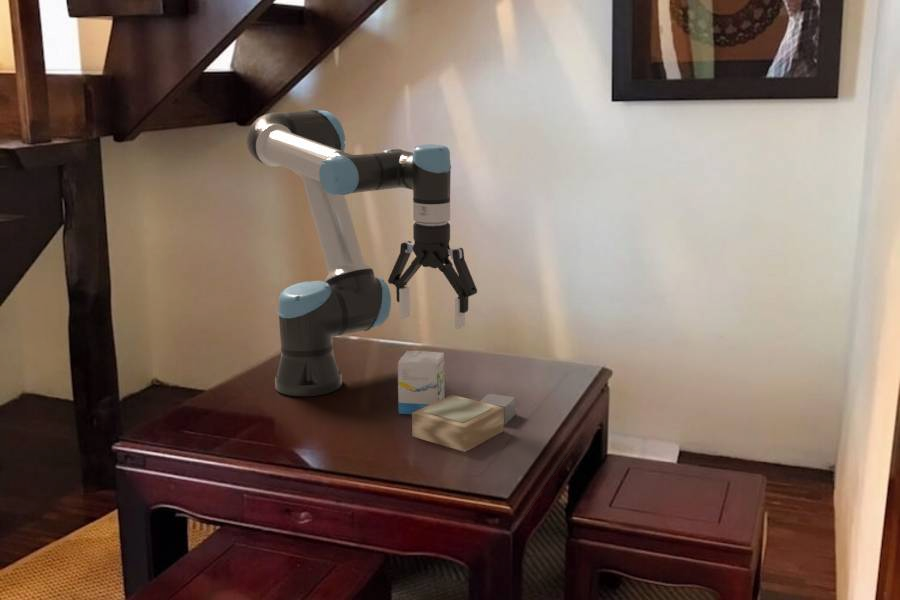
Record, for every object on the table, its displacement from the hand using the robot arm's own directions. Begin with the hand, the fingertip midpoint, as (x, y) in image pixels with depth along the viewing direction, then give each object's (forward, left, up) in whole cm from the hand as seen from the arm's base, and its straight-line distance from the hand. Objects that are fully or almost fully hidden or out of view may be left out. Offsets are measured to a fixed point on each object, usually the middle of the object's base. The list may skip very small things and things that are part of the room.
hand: (431, 322), depth 208 cm
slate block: (+14, +4, -19) cm, 24 cm away
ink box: (-2, -1, -19) cm, 19 cm away
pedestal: (+13, -8, -19) cm, 25 cm away
